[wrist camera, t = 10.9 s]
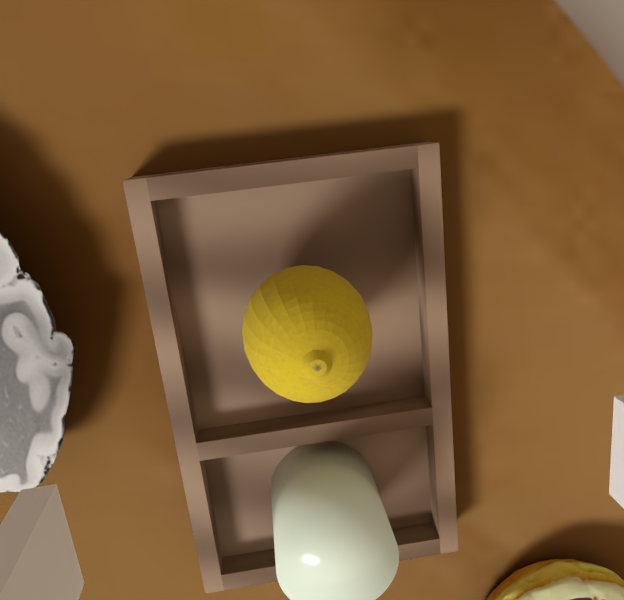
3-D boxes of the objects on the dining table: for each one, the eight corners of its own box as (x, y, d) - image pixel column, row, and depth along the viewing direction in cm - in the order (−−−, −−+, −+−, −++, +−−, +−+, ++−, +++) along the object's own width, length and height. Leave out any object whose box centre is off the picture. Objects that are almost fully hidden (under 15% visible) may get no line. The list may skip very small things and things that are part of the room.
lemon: (356, 249, 29) (397, 297, 21) (349, 355, 30) (385, 434, 23) (242, 247, 28) (242, 295, 20) (241, 355, 30) (241, 437, 22)
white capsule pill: (264, 448, 31) (268, 520, 25) (367, 432, 32) (394, 500, 26) (277, 537, 33) (283, 623, 27) (376, 520, 33) (403, 602, 27)
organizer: (131, 177, 27) (122, 180, 25) (426, 141, 28) (439, 142, 26) (207, 567, 34) (205, 593, 32) (446, 527, 35) (458, 550, 33)
